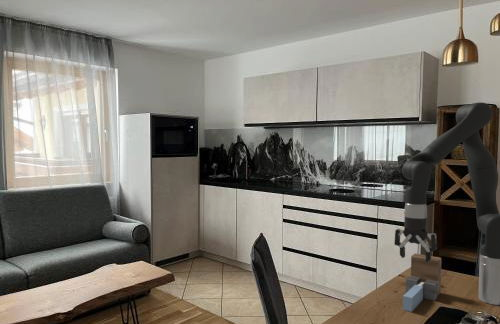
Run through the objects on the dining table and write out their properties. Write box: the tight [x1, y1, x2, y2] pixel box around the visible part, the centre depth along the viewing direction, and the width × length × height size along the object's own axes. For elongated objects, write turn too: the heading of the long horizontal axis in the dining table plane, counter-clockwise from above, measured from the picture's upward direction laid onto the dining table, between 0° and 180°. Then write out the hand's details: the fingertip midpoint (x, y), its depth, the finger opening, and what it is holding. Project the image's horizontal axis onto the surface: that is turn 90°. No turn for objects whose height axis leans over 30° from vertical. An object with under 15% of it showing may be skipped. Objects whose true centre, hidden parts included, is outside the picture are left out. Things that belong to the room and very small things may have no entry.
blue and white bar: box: [402, 282, 424, 313], centre depth 143 cm, size 19×3×5 cm, turn 141°
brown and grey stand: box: [405, 253, 442, 302], centre depth 152 cm, size 10×11×14 cm
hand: (415, 259), depth 141 cm, fingers open, 8 cm apart
